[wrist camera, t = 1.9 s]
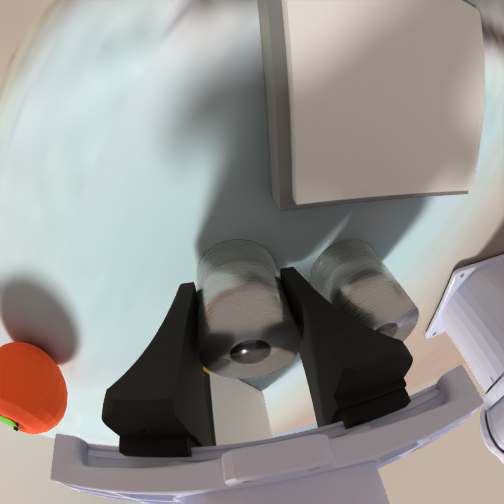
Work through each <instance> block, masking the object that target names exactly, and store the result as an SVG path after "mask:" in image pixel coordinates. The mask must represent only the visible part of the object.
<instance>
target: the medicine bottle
mask: <svg viewBox="0 0 504 504" xmlns="http://www.w3.org/2000/svg"><path fill="white" fill-rule="evenodd" d="M203 378H204V388H205V397H206V404H207V412H208V419H209V425H210V431H211V437H212V442H213V446H219V445H228V444H237V443H244V442H251V441H258V440H264V439H270V438H272V433H271V428H270V424H269V419H268V414H267V410H266V405H265V400H264V395H263V393H262V392H261V391H259V390H257V389H256V388H254V387H252V386H250V385H248V384H246V383H244V382H242V381H241V380H239V379H234V378H227V377H223V376H219V375H217V374H214V373H212V372H210V371H209V370H207V369H206V368H205V367H204V366H203Z"/></svg>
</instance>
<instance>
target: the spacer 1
mask: <svg viewBox="0 0 504 504" xmlns="http://www.w3.org/2000/svg"><path fill="white" fill-rule="evenodd" d="M197 323H198V356H199V359H200V361H201V363H202V365H203V366H204V367H205V368H206V369H207V370H209V371H210V372H212V373H214V374H217V375H219V376H223V377H227V378H234V379H247V378H255V377H260V376H264V375H267V374H270V373H273V372H275V371H277V370H279V369H281V368H282V367H284V366H285V365H287V364H288V363H289V362H291V361H292V360H293V359H294V357H295V356H296V355H297V353H298V352H299V350H300V347H301V336H300V333H299V330H298V327H297V325H296V322H295V319H294V316H293V313H292V311H291V308H290V305H289V302H288V299H287V297H286V294H285V291H284V288H283V285H282V283H281V280H280V277H279V274H278V272H277V269H276V266H275V263H274V261H273V258H272V256H271V255H270V253H269V252H268V251H267V250H266V249H265V248H264V247H263V246H261V245H259V244H257V243H255V242H252V241H248V240H230V241H225V242H222V243H220V244H218V245H216V246H214V247H212V248H211V249H210V250H208V251H207V252H206V253H205V254H204V256H203V257H202V258H201V260H200V262H199V264H198V268H197Z"/></svg>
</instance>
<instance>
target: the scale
mask: <svg viewBox="0 0 504 504" xmlns="http://www.w3.org/2000/svg"><path fill="white" fill-rule="evenodd" d="M258 9H259V20H260V31H261V42H262V54H263V66H264V79H265V93H266V107H267V122H268V137H269V154H270V172H271V191H272V197H273V199H274V201H275V202H276V204H277V206H278V208H279V210H280V211H286V210H294V209H303V208H311V207H320V206H329V205H338V204H347V203H357V202H367V201H378V200H389V199H401V198H413V197H426V196H441V195H457V194H468V191H471V190H472V187H473V182H474V177H475V172H476V167H477V161H478V155H479V148H480V141H481V132H482V122H483V109H484V85H485V70H484V47H483V35H482V25H481V18H480V11H479V10H478V9H476V6H475V5H473V4H471V3H470V2H468V1H466V0H258Z"/></svg>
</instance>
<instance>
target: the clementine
mask: <svg viewBox="0 0 504 504" xmlns="http://www.w3.org/2000/svg"><path fill="white" fill-rule="evenodd" d="M66 406H67V388H66V383H65V380H64V378H63V375H62V373H61V371H60V369H59V367H58V366H57V364H56V363H55V362H54V361H53V359H52V358H51V357H50V356H49V355H48V354H47V353H46V352H44V351H43V350H42V349H40V348H38V347H37V346H35V345H32V344H29V343H23V342H12V343H8V344H5V345H3V346H2V347H0V420H1V421H3V422H4V423H7V424H9V425H11V426H12V427H14V430H16V431H18V430H20V431H23V432H26V433H29V434H38V433H43V432H47V431H49V430H50V429H52V428H53V427H55V426H56V425H57V424H58V423H59V422H60V420H61V419H62V418H63V416H64V413H65V410H66Z"/></svg>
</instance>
